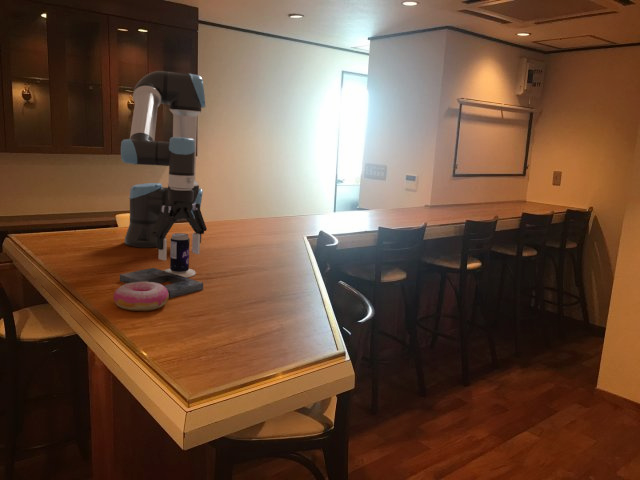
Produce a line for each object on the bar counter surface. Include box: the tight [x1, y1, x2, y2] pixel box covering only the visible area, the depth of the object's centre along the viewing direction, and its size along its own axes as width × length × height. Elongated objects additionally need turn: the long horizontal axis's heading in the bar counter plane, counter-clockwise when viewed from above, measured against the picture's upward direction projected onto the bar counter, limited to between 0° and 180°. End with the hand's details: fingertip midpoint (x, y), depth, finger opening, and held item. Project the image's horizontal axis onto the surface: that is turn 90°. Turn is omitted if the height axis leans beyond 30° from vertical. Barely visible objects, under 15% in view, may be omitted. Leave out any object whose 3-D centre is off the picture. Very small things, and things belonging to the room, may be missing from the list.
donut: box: [113, 282, 170, 312], centre depth 135 cm, size 14×13×5 cm
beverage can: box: [169, 232, 191, 274], centre depth 164 cm, size 6×6×12 cm
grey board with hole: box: [119, 267, 204, 299], centre depth 152 cm, size 22×12×2 cm, turn 56°
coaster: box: [163, 268, 196, 278], centre depth 165 cm, size 10×10×1 cm
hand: (179, 256), depth 164 cm, fingers open, 13 cm apart
